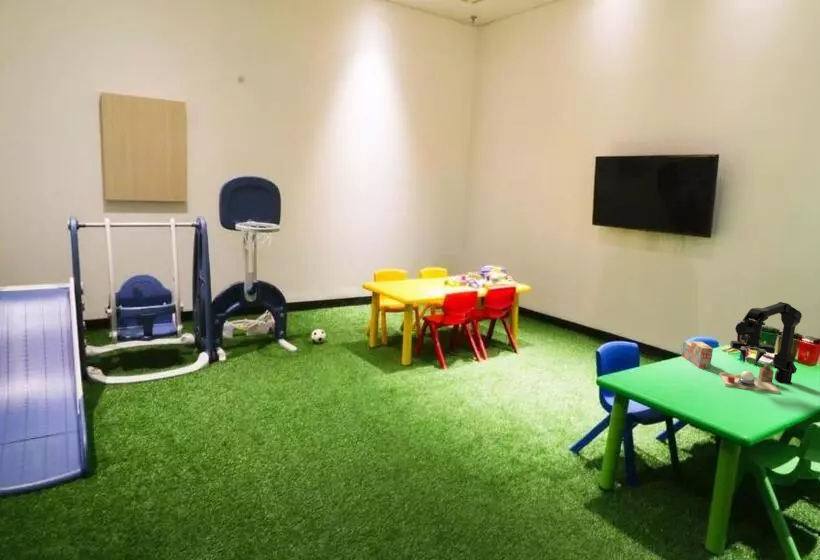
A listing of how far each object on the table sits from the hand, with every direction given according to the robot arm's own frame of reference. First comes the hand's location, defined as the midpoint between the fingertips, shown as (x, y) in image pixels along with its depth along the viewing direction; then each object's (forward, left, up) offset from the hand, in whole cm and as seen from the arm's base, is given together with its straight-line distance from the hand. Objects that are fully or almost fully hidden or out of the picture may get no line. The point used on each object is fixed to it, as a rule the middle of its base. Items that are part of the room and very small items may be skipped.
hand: (749, 362), depth 276 cm
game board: (-2, -5, -13) cm, 14 cm away
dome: (0, 0, -10) cm, 10 cm away
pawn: (-11, -11, -11) cm, 19 cm away
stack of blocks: (+19, -32, -13) cm, 40 cm away
